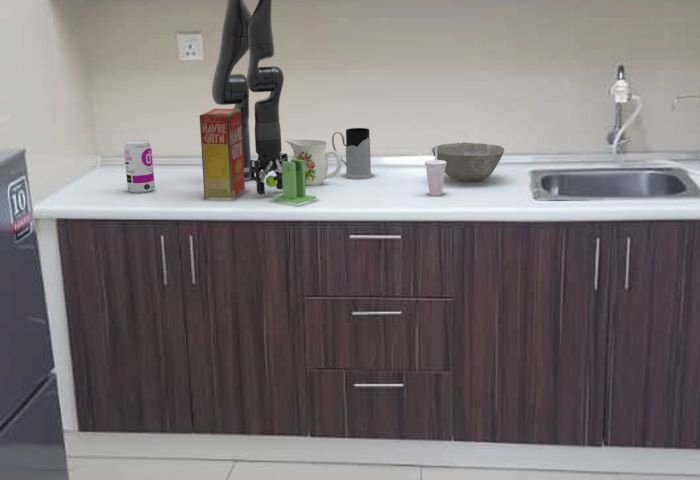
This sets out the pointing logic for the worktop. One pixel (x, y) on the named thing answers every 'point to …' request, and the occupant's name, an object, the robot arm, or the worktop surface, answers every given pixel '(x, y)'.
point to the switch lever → (278, 177)
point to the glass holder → (356, 153)
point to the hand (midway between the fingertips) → (270, 191)
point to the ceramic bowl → (469, 160)
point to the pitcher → (314, 159)
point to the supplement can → (139, 166)
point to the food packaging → (222, 153)
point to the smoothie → (435, 175)
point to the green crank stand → (293, 183)
